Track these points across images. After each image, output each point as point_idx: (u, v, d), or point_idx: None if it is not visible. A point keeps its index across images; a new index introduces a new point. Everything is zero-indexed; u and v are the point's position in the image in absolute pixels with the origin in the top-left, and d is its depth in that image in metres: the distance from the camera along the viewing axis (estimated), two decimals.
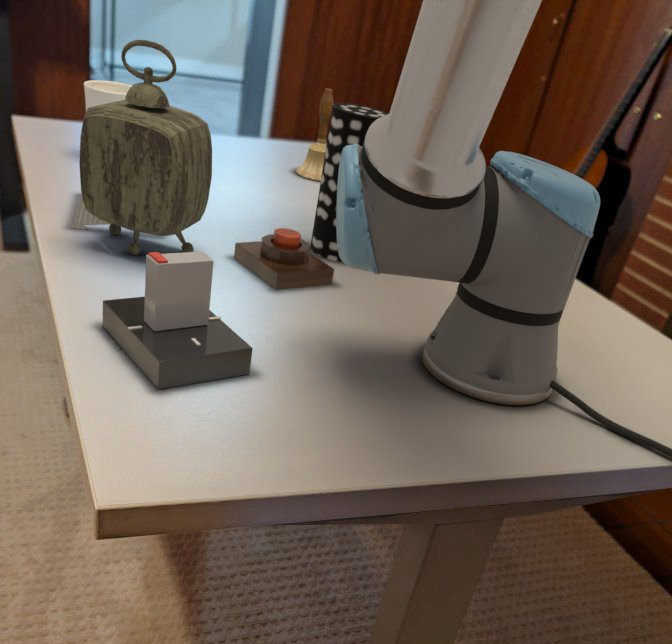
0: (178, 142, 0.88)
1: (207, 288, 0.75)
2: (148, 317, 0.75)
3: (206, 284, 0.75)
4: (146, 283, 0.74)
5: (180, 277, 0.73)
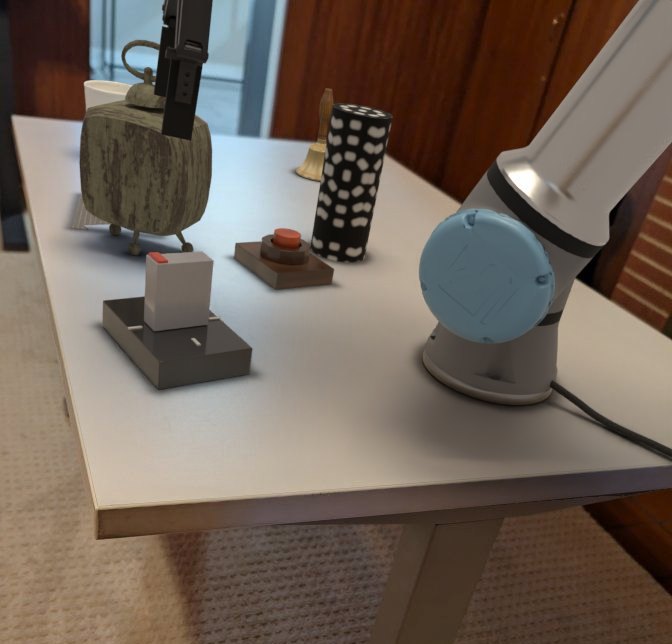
0: (178, 142, 0.88)
1: (207, 288, 0.75)
2: (148, 317, 0.75)
3: (206, 284, 0.75)
4: (146, 283, 0.74)
5: (180, 277, 0.73)
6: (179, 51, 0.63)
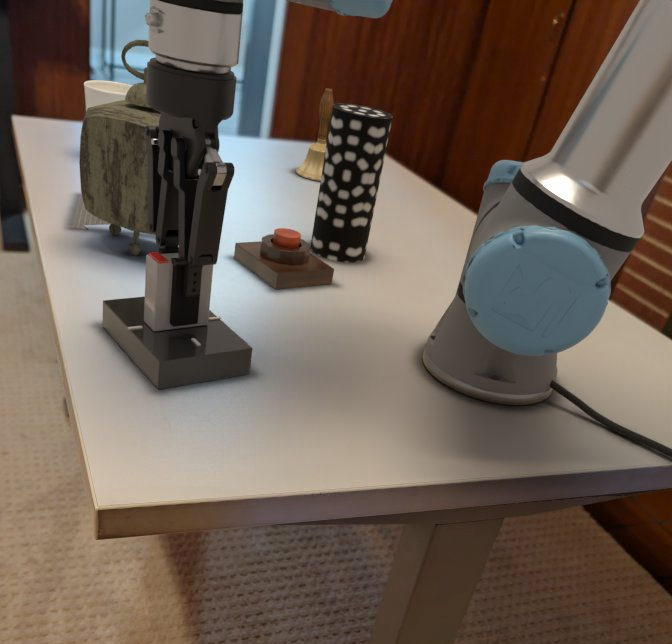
0: None
1: (207, 288, 0.75)
2: (148, 317, 0.75)
3: (206, 284, 0.75)
4: (146, 283, 0.74)
5: None
6: (193, 265, 0.69)
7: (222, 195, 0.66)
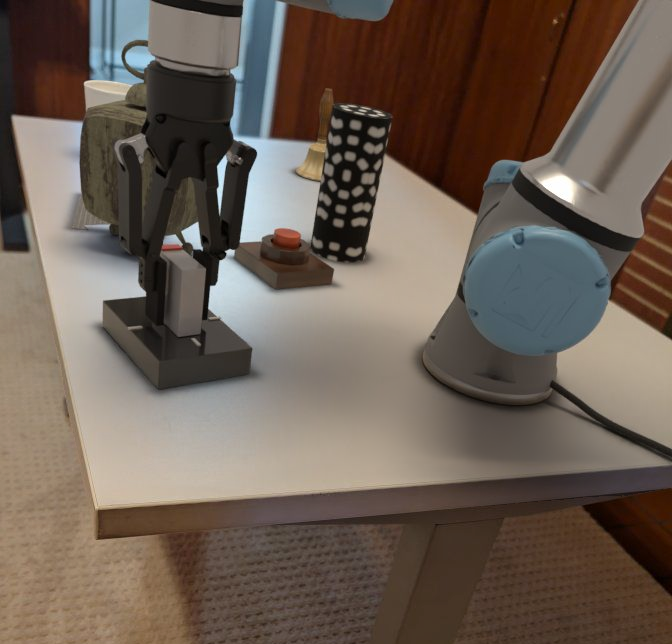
0: None
1: (178, 297, 0.72)
2: None
3: (178, 292, 0.72)
4: None
5: None
6: (120, 244, 0.70)
7: (126, 177, 0.65)
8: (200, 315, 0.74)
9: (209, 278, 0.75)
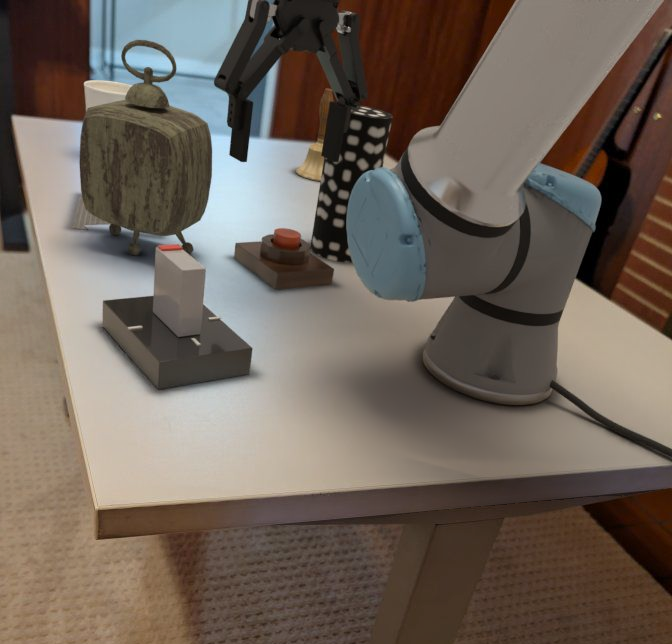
0: (178, 142, 0.88)
1: (178, 297, 0.72)
2: None
3: (178, 292, 0.72)
4: None
5: (165, 271, 0.74)
6: (214, 82, 0.82)
7: (252, 26, 0.80)
8: (200, 315, 0.74)
9: (343, 124, 0.93)
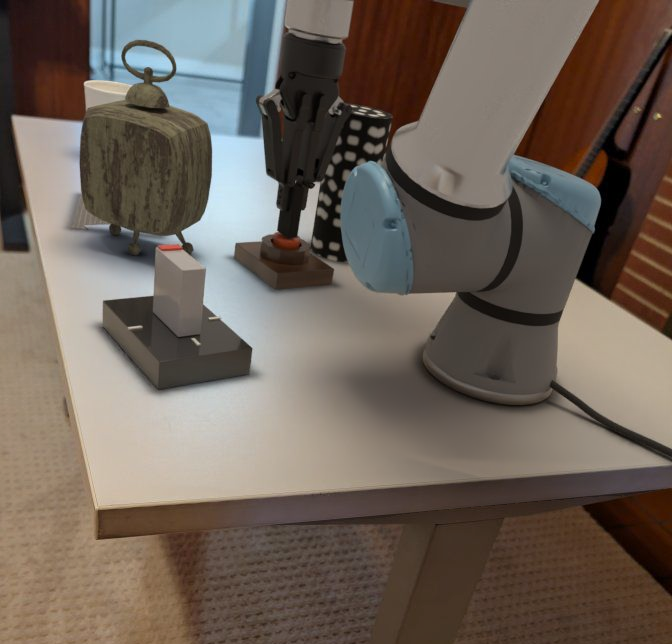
0: (178, 142, 0.88)
1: (178, 297, 0.72)
2: None
3: (178, 292, 0.72)
4: None
5: (165, 271, 0.74)
6: (267, 174, 0.95)
7: (270, 124, 0.89)
8: (200, 315, 0.74)
9: (301, 203, 0.97)
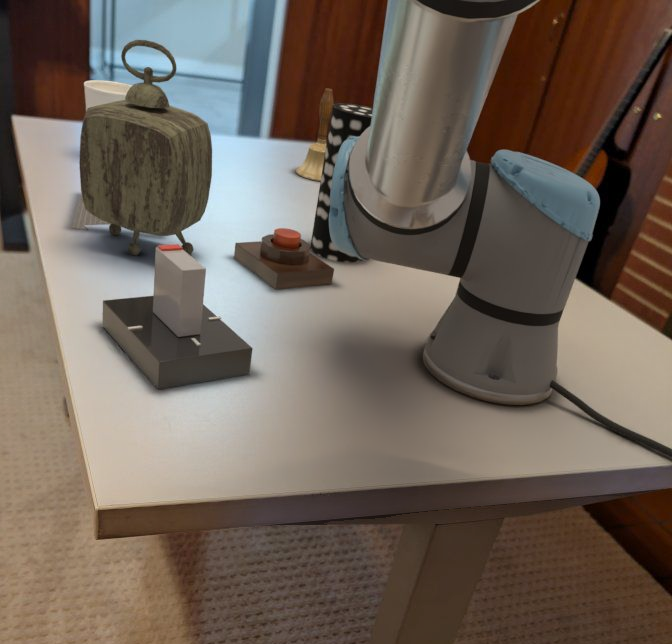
0: (178, 142, 0.88)
1: (178, 297, 0.72)
2: None
3: (178, 292, 0.72)
4: None
5: (165, 271, 0.74)
6: None
7: None
8: (200, 315, 0.74)
9: None
